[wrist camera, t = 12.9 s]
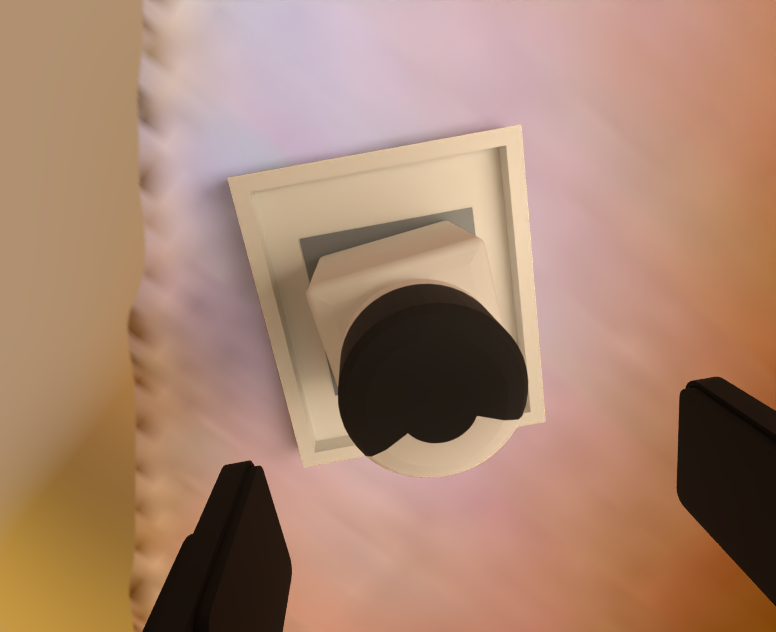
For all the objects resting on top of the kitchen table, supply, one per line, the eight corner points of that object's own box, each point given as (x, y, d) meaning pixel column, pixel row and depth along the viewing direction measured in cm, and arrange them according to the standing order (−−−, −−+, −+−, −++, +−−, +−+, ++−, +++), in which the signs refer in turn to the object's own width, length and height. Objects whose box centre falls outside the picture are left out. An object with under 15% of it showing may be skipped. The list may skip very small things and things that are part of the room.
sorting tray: (238, 177, 24) (227, 177, 22) (507, 128, 25) (521, 124, 22) (307, 446, 29) (303, 467, 27) (532, 403, 29) (545, 421, 27)
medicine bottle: (316, 256, 25) (283, 331, 13) (449, 217, 25) (531, 259, 13) (356, 377, 27) (358, 532, 15) (479, 342, 27) (572, 471, 15)
